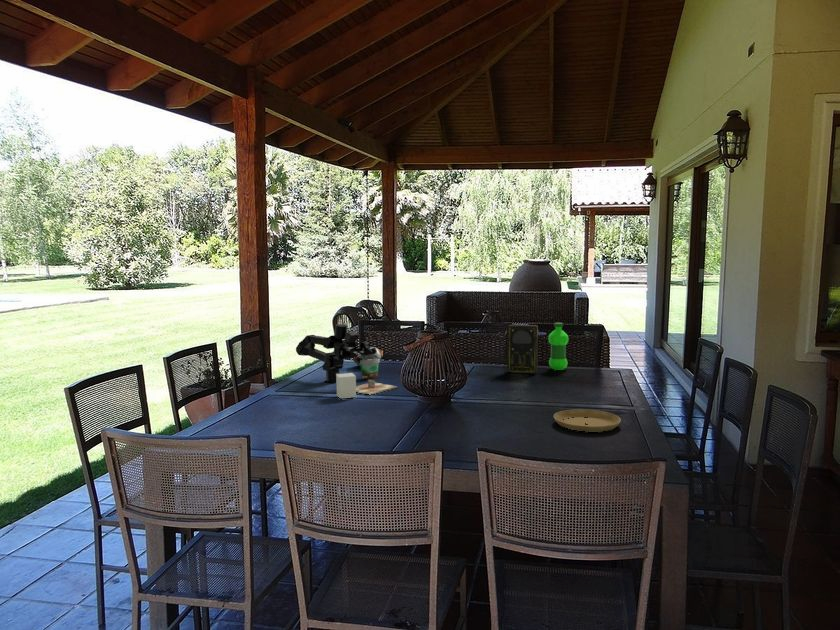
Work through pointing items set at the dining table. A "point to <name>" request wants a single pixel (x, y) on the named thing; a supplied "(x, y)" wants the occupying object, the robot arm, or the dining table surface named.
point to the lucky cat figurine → (375, 353)
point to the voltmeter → (522, 348)
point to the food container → (369, 368)
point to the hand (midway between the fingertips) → (364, 354)
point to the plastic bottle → (558, 347)
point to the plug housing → (346, 385)
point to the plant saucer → (587, 420)
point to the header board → (373, 387)
